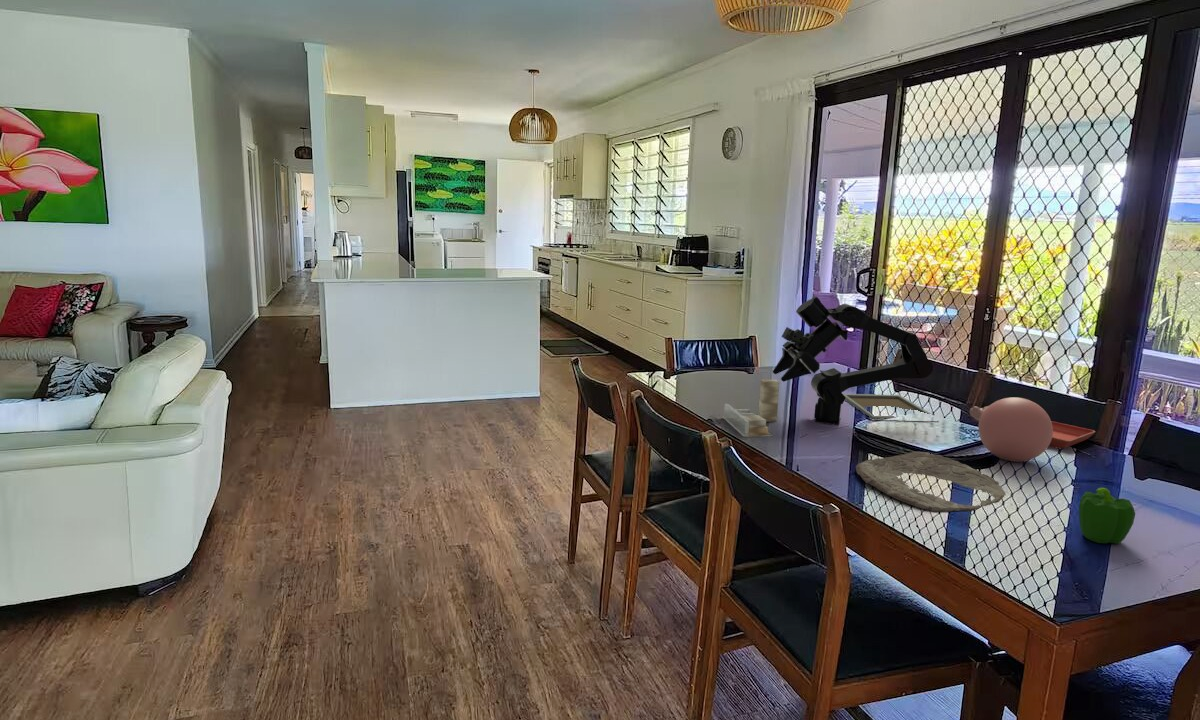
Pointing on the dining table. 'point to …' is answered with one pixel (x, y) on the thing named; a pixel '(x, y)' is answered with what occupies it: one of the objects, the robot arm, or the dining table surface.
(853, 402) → the picture frame
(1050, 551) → the dining table surface
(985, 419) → the balloon
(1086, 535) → the bell pepper
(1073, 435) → the plant saucer
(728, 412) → the offcut rack
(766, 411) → the beige wooden block
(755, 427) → the offcut pile
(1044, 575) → the dining table surface
